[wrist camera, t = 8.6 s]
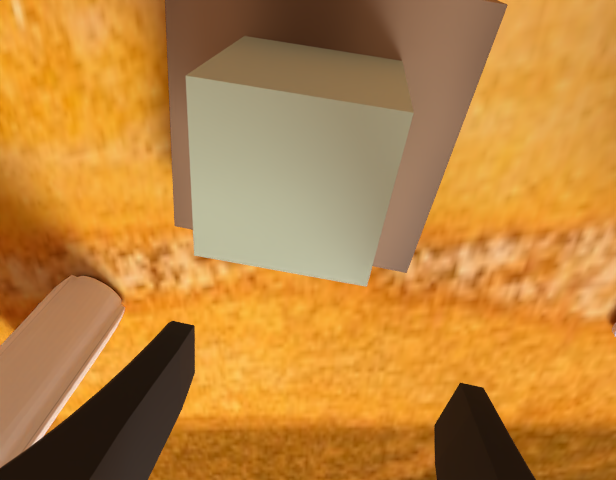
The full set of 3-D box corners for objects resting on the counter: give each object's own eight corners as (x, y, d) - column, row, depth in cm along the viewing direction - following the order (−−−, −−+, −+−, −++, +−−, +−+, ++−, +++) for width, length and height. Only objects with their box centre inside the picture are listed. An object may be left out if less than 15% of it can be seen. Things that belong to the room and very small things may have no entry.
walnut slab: (485, -5, 14) (507, 4, 12) (402, 233, 20) (406, 272, 18) (198, -59, 14) (162, -61, 12) (198, 192, 20) (174, 226, 18)
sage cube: (402, 60, 13) (414, 112, 9) (369, 199, 16) (366, 286, 12) (244, 36, 13) (185, 75, 9) (240, 177, 16) (194, 255, 12)
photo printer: (77, 374, 30) (-77, 593, 20) (19, 343, 28) (-177, 559, 18) (141, 301, 24) (-24, 548, 14) (73, 259, 23) (-158, 496, 13)
